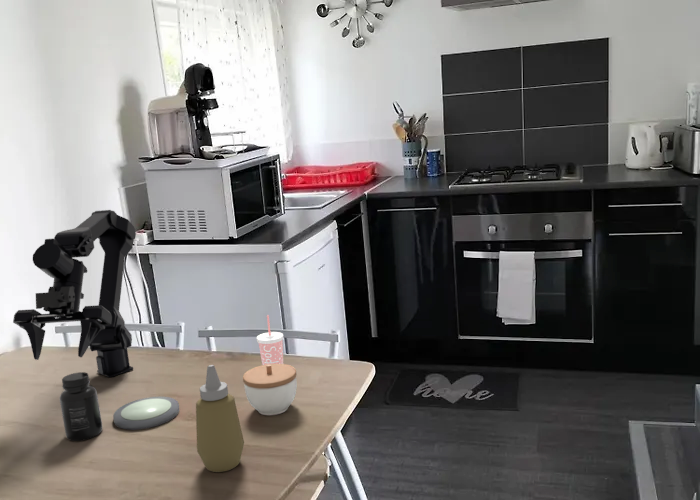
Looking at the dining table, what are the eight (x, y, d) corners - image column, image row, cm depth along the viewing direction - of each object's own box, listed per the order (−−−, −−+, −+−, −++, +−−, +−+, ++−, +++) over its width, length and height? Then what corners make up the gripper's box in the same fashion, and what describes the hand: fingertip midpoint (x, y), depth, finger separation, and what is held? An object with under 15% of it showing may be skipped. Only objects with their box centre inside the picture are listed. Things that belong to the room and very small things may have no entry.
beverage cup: (255, 376, 157) (249, 318, 154) (268, 367, 162) (262, 310, 160) (279, 379, 155) (272, 319, 152) (291, 369, 160) (285, 311, 157)
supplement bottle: (110, 427, 136) (101, 370, 134) (87, 443, 130) (77, 384, 128) (82, 424, 139) (73, 368, 136) (58, 440, 132) (48, 382, 130)
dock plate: (158, 396, 150) (157, 390, 149) (191, 411, 141) (191, 404, 141) (102, 418, 141) (101, 412, 140) (134, 435, 132) (133, 429, 131)
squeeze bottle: (202, 455, 122) (190, 360, 118) (247, 450, 122) (237, 355, 119) (196, 479, 114) (182, 377, 110) (244, 473, 115) (233, 372, 111)
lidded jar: (308, 410, 137) (304, 366, 135) (259, 425, 132) (254, 380, 130) (285, 393, 146) (281, 352, 144) (238, 407, 141) (233, 364, 139)
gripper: (4, 275, 139) (-9, 350, 133) (94, 269, 138) (85, 345, 132) (32, 293, 149) (21, 364, 143) (116, 288, 148) (108, 359, 142)
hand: (58, 358), depth 140 cm, fingers open, 9 cm apart
